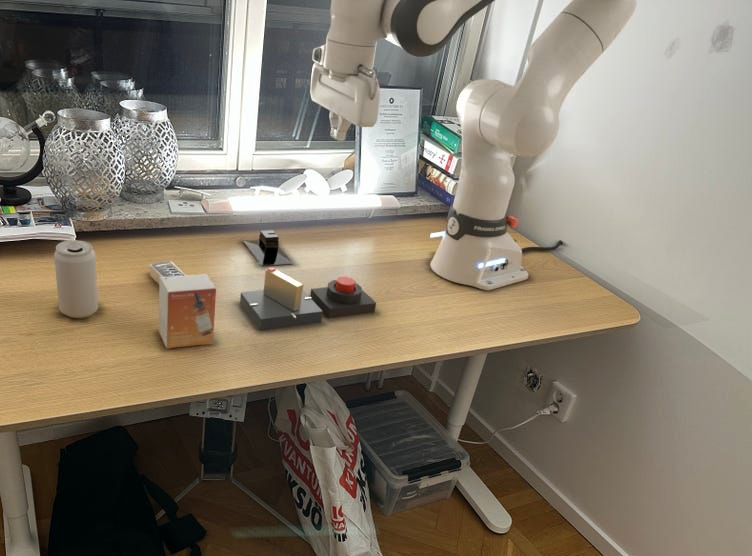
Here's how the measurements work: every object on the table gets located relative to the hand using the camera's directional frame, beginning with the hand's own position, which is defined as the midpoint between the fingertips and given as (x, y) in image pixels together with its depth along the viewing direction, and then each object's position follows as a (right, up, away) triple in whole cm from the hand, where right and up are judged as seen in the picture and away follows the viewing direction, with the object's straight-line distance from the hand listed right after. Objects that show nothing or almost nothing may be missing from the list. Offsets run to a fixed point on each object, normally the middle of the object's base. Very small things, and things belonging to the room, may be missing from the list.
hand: (337, 138), depth 124 cm
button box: (+1, -32, +2) cm, 32 cm away
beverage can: (-45, -34, -11) cm, 57 cm away
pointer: (-10, -31, -5) cm, 33 cm away
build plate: (-14, -19, +18) cm, 30 cm away
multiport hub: (-31, -28, +1) cm, 42 cm away
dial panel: (-11, -33, -4) cm, 35 cm away
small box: (-26, -38, -14) cm, 49 cm away
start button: (+1, -28, 0) cm, 29 cm away
